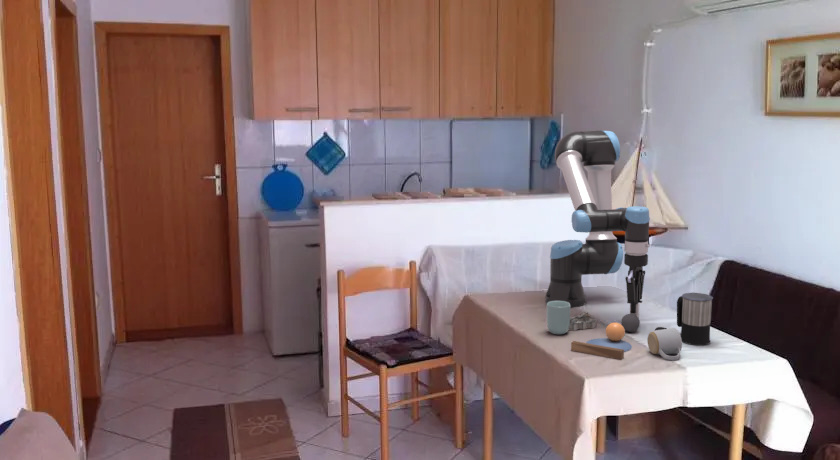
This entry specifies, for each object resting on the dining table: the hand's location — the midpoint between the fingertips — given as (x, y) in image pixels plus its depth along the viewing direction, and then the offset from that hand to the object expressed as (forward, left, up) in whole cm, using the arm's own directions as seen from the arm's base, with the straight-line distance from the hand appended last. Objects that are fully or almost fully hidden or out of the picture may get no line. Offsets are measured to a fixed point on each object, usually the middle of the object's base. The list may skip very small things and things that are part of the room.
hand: (634, 321), depth 259 cm
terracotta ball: (+18, 0, +1) cm, 18 cm away
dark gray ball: (+5, +1, +1) cm, 5 cm away
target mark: (+23, 0, -2) cm, 23 cm away
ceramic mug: (+22, +18, -2) cm, 28 cm away
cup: (+19, -19, -2) cm, 27 cm away
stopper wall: (+32, 0, -2) cm, 33 cm away
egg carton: (+9, -16, -2) cm, 18 cm away
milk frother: (+6, +18, -2) cm, 19 cm away
